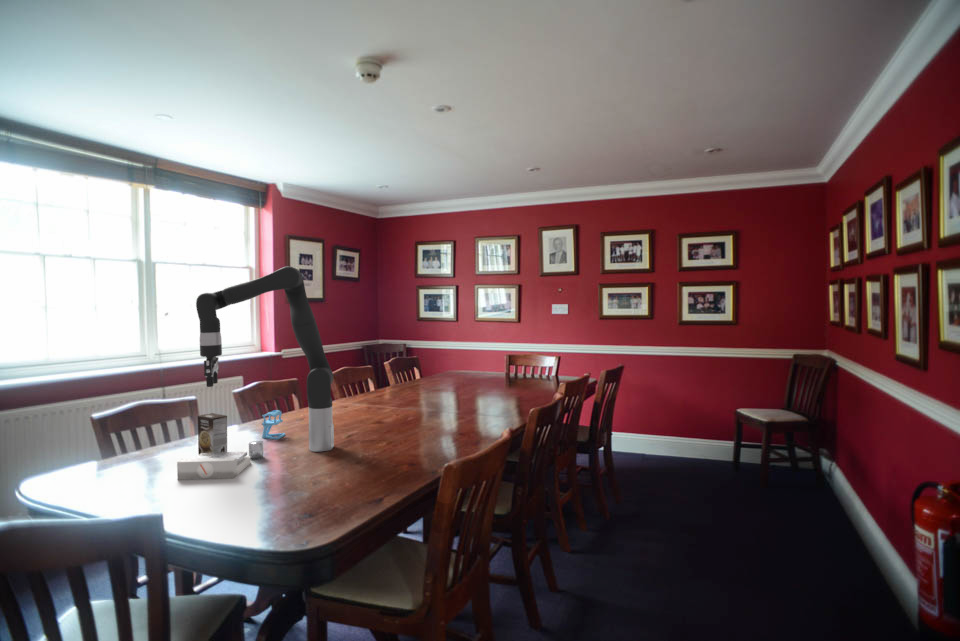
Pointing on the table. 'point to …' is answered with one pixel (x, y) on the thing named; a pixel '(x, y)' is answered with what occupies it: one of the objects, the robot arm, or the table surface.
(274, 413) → the chair
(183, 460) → the scale
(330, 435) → the robot arm
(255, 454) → the small grey jar
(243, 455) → the platter
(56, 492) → the table surface
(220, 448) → the coffee box
